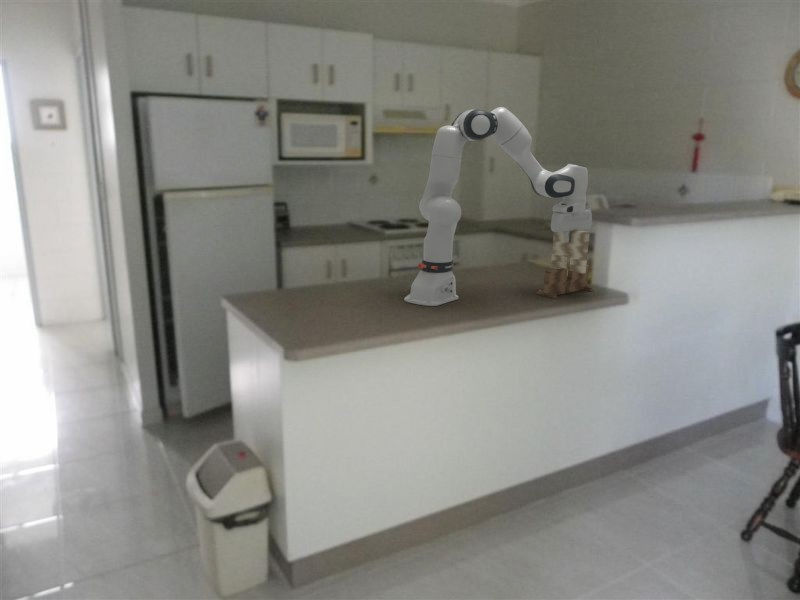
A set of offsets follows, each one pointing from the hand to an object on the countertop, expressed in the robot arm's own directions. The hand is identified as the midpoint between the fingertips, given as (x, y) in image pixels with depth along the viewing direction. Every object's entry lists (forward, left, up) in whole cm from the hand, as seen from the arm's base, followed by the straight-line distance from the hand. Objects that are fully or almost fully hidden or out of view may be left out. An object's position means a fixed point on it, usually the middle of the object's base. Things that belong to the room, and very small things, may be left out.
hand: (570, 241), depth 235 cm
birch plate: (0, 0, -11) cm, 11 cm away
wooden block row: (0, 0, -21) cm, 21 cm away
